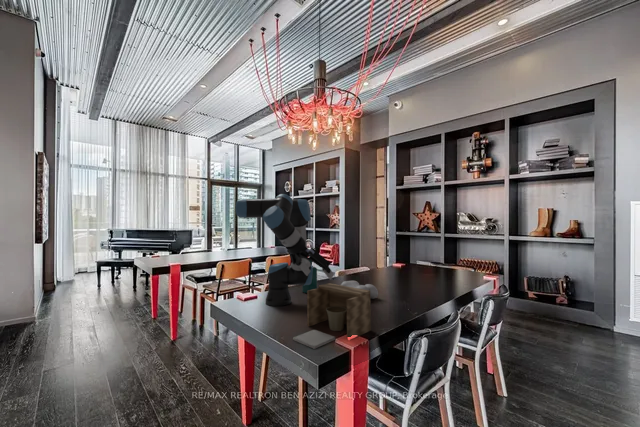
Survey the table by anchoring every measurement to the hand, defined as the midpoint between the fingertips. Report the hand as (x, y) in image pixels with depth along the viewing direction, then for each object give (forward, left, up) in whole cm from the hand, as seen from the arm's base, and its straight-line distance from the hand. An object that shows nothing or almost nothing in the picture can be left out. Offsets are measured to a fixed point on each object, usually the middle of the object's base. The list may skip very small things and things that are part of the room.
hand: (319, 275), depth 120 cm
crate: (+9, +7, -25) cm, 28 cm away
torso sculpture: (+31, +64, -26) cm, 75 cm away
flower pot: (+8, +7, -25) cm, 28 cm away
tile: (-3, -4, -25) cm, 26 cm away
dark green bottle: (+1, +79, -25) cm, 83 cm away
